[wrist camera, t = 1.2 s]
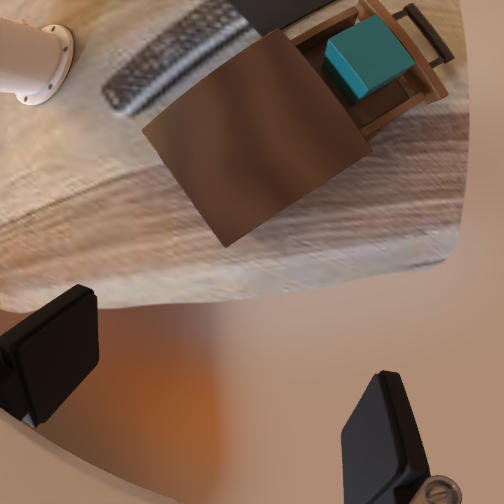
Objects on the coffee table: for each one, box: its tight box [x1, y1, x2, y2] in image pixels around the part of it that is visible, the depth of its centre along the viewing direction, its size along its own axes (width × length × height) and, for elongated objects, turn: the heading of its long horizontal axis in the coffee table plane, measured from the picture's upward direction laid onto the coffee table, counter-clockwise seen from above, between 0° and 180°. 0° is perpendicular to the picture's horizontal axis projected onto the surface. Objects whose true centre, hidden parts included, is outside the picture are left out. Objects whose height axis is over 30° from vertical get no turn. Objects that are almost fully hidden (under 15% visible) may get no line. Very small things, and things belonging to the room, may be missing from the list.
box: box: [322, 15, 415, 106], centre depth 23 cm, size 5×5×8 cm
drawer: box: [291, 0, 455, 137], centre depth 25 cm, size 19×12×5 cm, turn 125°
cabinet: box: [142, 28, 373, 248], centre depth 29 cm, size 16×14×7 cm
